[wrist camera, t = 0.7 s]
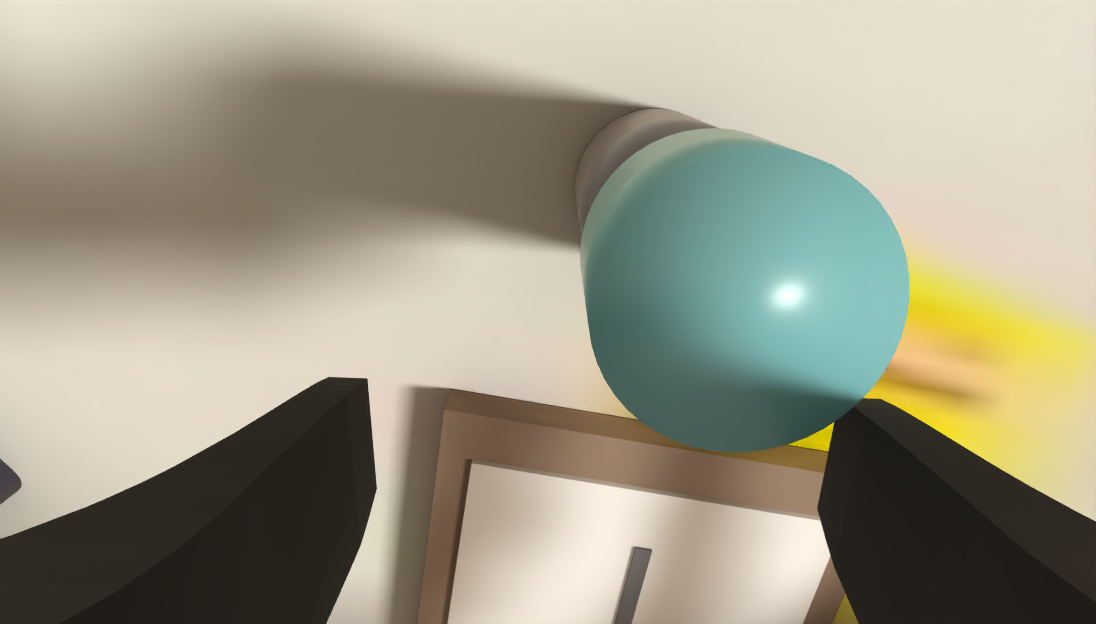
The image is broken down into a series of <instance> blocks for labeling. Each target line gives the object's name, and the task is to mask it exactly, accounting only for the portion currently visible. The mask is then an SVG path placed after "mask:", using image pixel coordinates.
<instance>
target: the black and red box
mask: <svg viewBox="0 0 1096 624" xmlns="http://www.w3.org/2000/svg"><path fill="white" fill-rule="evenodd" d="M20 488H21V480H20V478H19V476H18V475H17V474H16V473H15V472H14V471H13V470H12V469H11V468H10V467H9V466H8V465H7V464H6V463H4V462H3V461H2V460H1V459H0V504H1V503H3V502H4V501H5V500H7V499H8V498H9V497H10V496H12V495H13V494H14V493H15V492H17V491H18V490H19V489H20Z"/></svg>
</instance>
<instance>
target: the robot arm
mask: <svg viewBox="0 0 1096 624" xmlns="http://www.w3.org/2000/svg"><path fill="white" fill-rule="evenodd" d="M376 489H377V486H376V474H375V463H374V451H373V439H372V427H371V416H370V404H369V392H368V380H367V379H364V378H339V377H328V378H326V379H324V380H321V381H319V382H318V383H316V384H314V385H312V386H310V387H309V388H307V389H305V390H304V391H302V392H300V393H299V394H297V395H295V396H294V397H292V398H291V399H289V400H287V401H286V402H284V403H283V404H281V405H279V406H278V407H276V408H274V409H273V410H271V411H270V412H268V413H266V414H265V415H263V416H261V417H260V418H258V419H256V420H255V421H253V422H252V423H250V424H248V425H247V426H245V427H243V428H242V429H240V430H239V431H237V432H235V433H233V434H232V435H230V436H228V437H226V438H225V439H223V440H221V441H219V442H217V443H216V444H214V445H212V446H210V447H208V448H207V449H205V450H203V451H201V452H199V453H198V454H196V455H194V456H192V457H190V458H189V459H187V460H185V461H183V462H181V463H180V464H178V465H176V466H174V467H172V468H170V469H168V470H166V471H164V472H162V473H160V474H158V475H156V476H154V477H152V478H150V479H148V480H146V481H144V482H142V483H140V484H138V485H135V486H133V487H131V488H129V489H126V490H124V491H122V492H120V493H118V494H115V495H113V496H111V497H109V498H106V499H104V500H102V501H100V502H97V503H95V504H92V505H90V506H88V507H85V508H83V509H80V510H77V511H75V512H72V513H69V514H67V515H64V516H61V517H59V518H56V519H53V520H51V521H48V522H45V523H43V524H40V525H38V526H35V527H32V528H30V529H27V530H24V531H22V532H19V533H16V534H14V535H11V536H8V537H5V538H2V539H0V624H326V623H327V621H328V618H329V616H330V614H331V612H332V609H333V607H334V605H335V603H336V600H337V598H338V596H339V594H340V592H341V589H342V587H343V585H344V582H345V580H346V578H347V576H348V573H349V571H350V569H351V566H352V564H353V562H354V559H355V557H356V555H357V552H358V550H359V548H360V545H361V542H362V539H363V536H364V532H365V529H366V526H367V522H368V519H369V515H370V512H371V508H372V504H373V501H374V497H375V493H376ZM817 510H818V514H819V517H820V521H821V525H822V528H823V532H824V536H825V539H826V543H827V546H828V549H829V552H830V556H831V559H832V562H833V565H834V568H835V570H836V573H837V575H838V577H839V580H840V582H841V584H842V587H843V589H844V591H845V593H846V596H847V598H848V600H849V602H850V605H851V607H852V609H853V611H854V614H855V616H856V618H857V620H858V622H859V624H1096V521H1094V520H1092V519H1090V518H1088V517H1086V516H1084V515H1082V514H1080V513H1078V512H1076V511H1074V510H1072V509H1071V508H1069V507H1067V506H1065V505H1063V504H1061V503H1060V502H1058V501H1056V500H1054V499H1052V498H1050V497H1049V496H1047V495H1045V494H1043V493H1041V492H1039V491H1038V490H1036V489H1034V488H1032V487H1030V486H1029V485H1027V484H1025V483H1023V482H1022V481H1020V480H1018V479H1016V478H1015V477H1013V476H1011V475H1010V474H1008V473H1006V472H1004V471H1003V470H1001V469H999V468H998V467H996V466H994V465H993V464H991V463H989V462H988V461H986V460H984V459H983V458H981V457H979V456H978V455H976V454H974V453H973V452H971V451H969V450H968V449H966V448H965V447H963V446H961V445H960V444H958V443H956V442H955V441H953V440H952V439H950V438H948V437H947V436H945V435H943V434H942V433H940V432H938V431H937V430H935V429H934V428H932V427H930V426H929V425H927V424H925V423H924V422H922V421H920V420H919V419H917V418H915V417H914V416H912V415H910V414H909V413H907V412H905V411H903V410H901V409H900V408H898V407H896V406H894V405H892V404H890V403H888V402H886V401H884V400H882V399H867V398H862V399H861V400H860V401H859V403H858V404H856V405H855V406H854V407H853V408H852V409H850V410H849V411H848V412H847V413H846V414H845V415H843V416H842V417H841V418H839V419H838V420H836V421H835V422H834V427H833V432H832V437H831V442H830V447H829V452H828V457H827V462H826V467H825V472H824V476H823V481H822V486H821V491H820V496H819V501H818V506H817Z"/></svg>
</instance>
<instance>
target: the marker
mask: <svg viewBox="0 0 1096 624" xmlns="http://www.w3.org/2000/svg"><path fill="white" fill-rule="evenodd" d="M575 198H576V205H577V211H578V217H579V224H580V230H581V236H582V241H581V249H580V257H581V272H582V280H583V287H584V295H585V302H586V310H587V317H588V325H589V331H590V338H591V344H592V348H593V351H594V354H595V358H596V361H597V364H598V366H599V368H600V370H601V372H602V374H603V377H604V379H605V380H606V382H607V384H608V385H609V387H610V388H611V390H612V391H613V393H614V394H615V396H616V397H617V398H618V399H619V400H620V402H621V403H622V404H623V405H624V406H625V407H626V409H627V410H629V411H630V412H631V413H632V414H633V415H634V416H635V417H636V418H638V419H639V420H640V421H641V422H642V423H644V424H645V425H647V426H648V427H650V428H651V429H653V430H654V431H656V432H658V433H660V434H662V435H664V436H666V437H668V438H670V439H672V440H674V441H677V442H680V443H682V444H685V445H688V446H691V447H695V448H700V449H705V450H709V451H719V452H753V451H760V450H767V449H772V448H776V447H780V446H784V445H788V444H790V443H793V442H796V441H798V440H801V439H804V438H806V437H808V436H810V435H812V434H814V433H816V432H818V431H820V430H822V429H824V428H826V427H827V426H829V425H830V424H832V423H833V422H835V421H836V420H838V419H839V418H841V417H842V416H843V415H845V414H846V413H847V412H848V411H849V410H850V409H852V408H853V407H854V406H855V405H856V404H858V403H859V401H860V400H861V399H862V398H863V397H864V396H865V395H866V394H867V393H868V392H869V391H870V390H871V389H872V387H873V386H874V385H875V383H876V382H877V381H878V379H879V378H880V377H881V375H882V374H883V373H884V371H885V369H886V367H887V366H888V364H889V362H890V360H891V359H892V357H893V355H894V353H895V351H896V348H897V346H898V343H899V341H900V339H901V336H902V332H903V329H904V325H905V321H906V318H907V311H908V303H909V272H908V266H907V259H906V255H905V252H904V248H903V245H902V242H901V238H900V236H899V234H898V232H897V230H896V228H895V226H894V224H893V222H892V220H891V218H890V217H889V215H888V214H887V212H886V211H885V209H884V208H883V206H882V205H881V203H880V202H879V201H878V200H877V199H876V198H875V197H874V196H873V195H872V194H871V193H870V191H869V190H868V189H867V188H866V187H864V186H863V185H862V184H861V183H859V182H858V181H857V180H856V179H854V178H853V177H852V176H851V175H849V174H847V173H845V172H844V171H842V170H840V169H839V168H837V167H835V166H833V165H832V164H829V163H827V162H824V161H822V160H819V159H817V158H814V157H812V156H809V155H806V154H804V153H801V152H798V151H795V150H793V149H790V148H787V147H784V146H782V145H779V144H776V143H774V142H771V141H768V140H765V139H763V138H760V137H757V136H754V135H752V134H748V133H744V132H740V131H736V130H730V129H720V128H717V127H714V126H712V125H709V124H707V123H704V122H702V121H699V120H697V119H694V118H692V117H689V116H687V115H684V114H682V113H679V112H676V111H672V110H667V109H644V110H638V111H634V112H631V113H628V114H625V115H623V116H621V117H619V118H617V119H615V120H614V121H612V122H611V123H609V124H608V125H606V126H605V127H604V128H603V129H602V130H600V131H599V133H598V134H597V135H596V136H595V137H594V138H593V139H592V141H591V142H590V143H589V145H588V146H587V148H586V150H585V151H584V153H583V155H582V157H581V160H580V163H579V165H578V169H577V173H576V179H575Z"/></svg>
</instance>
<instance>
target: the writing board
mask: <svg viewBox="0 0 1096 624" xmlns="http://www.w3.org/2000/svg"><path fill="white" fill-rule="evenodd" d="M827 457H828V452H824V451H818V450H812V449H806V448H800V447H794V446H788V445H784V446H780V447H776V448H772V449H767V450H760V451H753V452H719V451H709V450H705V449H700V448H695V447H691V446H688V445H685V444H682V443H680V442H677V441H674V440H672V439H670V438H668V437H666V436H664V435H662V434H660V433H658V432H656V431H654V430H653V429H651V428H650V427H648V426H647V425H645V424H644V423H642V422H641V421H639V420H633V419H627V418H621V417H615V416H609V415H603V414H597V413H591V412H585V411H579V410H573V409H567V408H562V407H556V406H550V405H544V404H538V403H532V402H526V401H520V400H514V399H508V398H502V397H496V396H490V395H484V394H478V393H472V392H466V391H460V390H454V389H451V391H450V394H449V397H448V400H447V403H446V406H445V409H444V415H443V423H442V431H441V439H440V447H439V454H438V462H437V470H436V478H435V486H434V494H433V501H432V509H431V517H430V525H429V533H428V540H427V548H426V556H425V564H424V572H423V580H422V587H421V595H420V603H419V611H418V619H417V624H832V623H833V620H834V618H835V616H836V613H837V611H838V609H839V606H840V604H841V601H842V599H843V597H844V594H845V591H844V589H843V587H842V584H841V582H840V580H839V577H838V575H837V573H836V570H835V568H834V565H833V562H832V559H831V556H830V552H829V549H828V546H827V543H826V539H825V536H824V532H823V528H822V525H821V521H820V517H819V514H818V510H817V506H818V501H819V496H820V491H821V486H822V481H823V476H824V472H825V467H826V462H827Z"/></svg>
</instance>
